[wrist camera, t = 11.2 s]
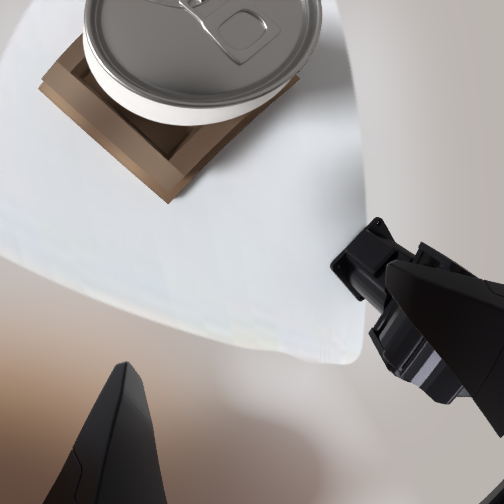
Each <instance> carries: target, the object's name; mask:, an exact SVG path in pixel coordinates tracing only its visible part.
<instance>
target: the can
mask: <svg viewBox="0 0 504 504" xmlns="http://www.w3.org/2000/svg"><path fill="white" fill-rule="evenodd" d="M321 24H322V6H321V0H86V5H85V12H84V26H83V46H84V52H85V56H86V60H87V63H88V65H89V68H90V70H91V72H92V74H93V75H94V77H95V79H96V80H97V82H98V83H99V85H100V86H101V87H102V88H103V90H104V91H105V92H106V93H107V94H108V95H109V96H110V97H111V98H112V99H114V100H115V101H116V102H117V103H119V104H120V105H121V106H123V107H124V108H126V109H128V110H129V111H131V112H133V113H135V114H137V115H139V116H141V117H144V118H146V119H149V120H152V121H156V122H159V123H164V124H171V125H183V126H192V125H205V124H212V123H218V122H222V121H226V120H229V119H233V118H235V117H238V116H241V115H243V114H245V113H248V112H250V111H252V110H254V109H256V108H257V107H259V106H261V105H262V104H264V103H265V102H267V101H268V100H270V99H271V98H272V97H274V96H275V95H276V94H277V93H278V92H279V91H280V90H281V89H282V88H283V87H284V86H285V85H286V84H287V83H288V82H289V80H290V79H291V78H292V77H293V76H294V75H295V74H296V73H297V72H298V71H299V70H300V69H301V68H302V67H303V66H304V64H305V63H306V62H307V60H308V59H309V57H310V56H311V54H312V52H313V50H314V48H315V46H316V43H317V41H318V38H319V34H320V30H321Z"/></svg>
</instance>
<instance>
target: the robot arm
mask: <svg viewBox="0 0 504 504" xmlns="http://www.w3.org/2000/svg"><path fill="white" fill-rule="evenodd" d="M378 221H379V222H378ZM377 223H378V224H377ZM336 265H337V266H336ZM335 266H336V267H335ZM330 268H331V270H332V271H333V272H334V273H335V274H336V276H337V277H338V278H339V279H340V280H341V281H342V282H343V284H344V285H345V286H346V287H347V288H348V289H349V291H350V292H351V293H352V294H353V295H354V296H355V298H356V299H357V300H358V301H363V300H364V299H366V300H367V301H368V302H369V303H370V304H372V305H373V306H374V307H375V308H376V309H377V310H378V311H379V312H380V313H381V316H380V318H379V319H378V321H377V322H376V324H375V325H374V327H373V328H371V330H370V331H369V335H370V337H371V339H372V341H373V343H374V345H375V346H376V348H377V350H378V352H379V354H380V356H381V358H382V360H383V361H384V363H385V365H386V367H387V369H388V370H389V371H390V372H392V373H393V374H394V375H395V376H397V377H399V378H401V379H403V380H405V381H407V382H411V383H413V384H415V385H416V386H418V387H419V388H421V389H422V390H423V391H424V392H425V393H426V394H427V395H428V396H429V397H431V398H432V399H433V400H434V401H435V402H438V403H442V404H450V403H451V402H452V401H453V400H454V399H455V398H456V397H472V398H473V400H474V402H475V403H476V404H477V406H478V407H479V409H480V410H481V411H482V413H483V414H484V416H485V417H486V418H487V420H488V421H489V423H490V424H491V426H492V427H493V428H494V430H495V432H496V433H497V434H498V436H499V437H500V438H501V437H502V436H503V435H504V284H500V283H495V282H491V281H487V280H482V279H479V278H478V277H476V276H475V275H473V274H472V273H471V272H469V271H468V270H466V269H465V268H463V267H462V266H460V265H459V264H457V263H456V262H454V261H453V260H451V259H449V258H448V257H446V256H445V255H443V254H441V253H440V252H438V251H436V250H435V249H433V248H431V247H430V246H428V245H426V244H425V243H423V242H421V243H420V245H419V249H418V251H417V253H416V255H414V254H413V253H411V252H409V251H408V250H406V249H405V248H403V247H402V246H400V245H399V244H397V243H396V242H395V241H394V239H393V238H392V236H391V234H390V232H389V230H388V228H387V226H386V225H385V223H384V221H383V220H382V219H381V218H379V217H376V218H374V219H373V220H372V222H371V223H370V224H369V225H368V226H367V227H366V228H365V229H364V230H363V231H362V232H361V233H360V234H359V235H358V236H357V237H356V238H355V239H354V240H353V241H352V242H351V243H350V245H349V246H348V247H347V248H346V249H345V250H344V251H343V252H342V253H341V254H340V255H339V256H338V257H337V258H336V259H335V260H334V261H333V262H332V263H331V265H330ZM43 504H167V500H166V496H165V491H164V487H163V482H162V477H161V472H160V467H159V461H158V456H157V450H156V443H155V437H154V430H153V424H152V420H151V416H150V412H149V408H148V404H147V400H146V396H145V391H144V386H143V382H142V380H141V378H140V376H139V375H138V373H137V372H136V371H135V369H134V368H133V366H132V365H131V364H130V363H129V362H127V361H126V362H122V363H119V364H117V365H116V366H115V367H114V369H113V371H112V373H111V375H110V376H109V378H108V380H107V382H106V384H105V386H104V387H103V389H102V391H101V393H100V395H99V397H98V399H97V400H96V402H95V404H94V406H93V408H92V410H91V412H90V414H89V416H88V418H87V420H86V421H85V424H84V425H83V427H82V429H81V431H80V433H79V436H78V438H77V439H76V441H75V444H74V446H73V450H71V452H70V454H69V456H68V458H67V460H66V462H65V464H64V466H63V468H62V470H61V472H60V474H59V476H58V477H57V479H56V481H55V483H54V485H53V486H52V488H51V490H50V491H49V493H48V495H47V497H46V498H45V500H44V502H43ZM479 504H504V480H503V481H502V482H501V483H500V484H499V485H498V486H497V487H496V488H495V489H494V490H493V491H492V492H491V493H490V494H489V495H488V496H487V497H486V498H485V499H484V500H483V501H482V502H480V503H479Z"/></svg>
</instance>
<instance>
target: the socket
mask: <svg viewBox="0 0 504 504" xmlns="http://www.w3.org/2000/svg"><path fill="white" fill-rule="evenodd" d="M298 72H299V71H298ZM298 72H297V73H298ZM42 80H43V81H44V82H43V83H42V84H41V85H40V87H39V88H38V89H39V90H40V91H41V92H42V93H43V94H44V95H45V96H46V97H48V98H49V99H50V100H51V101H52V102H53V103H54V104H55V105H56V106H57V107H59V108H60V109H61V110H62V111H63V112H64V113H65V114H66V115H67V116H68V117H70V118H71V119H72V120H73V121H74V122H75V123H76V124H77V125H78V126H80V127H81V128H82V129H83V130H84V131H85V132H86V133H87V134H88V135H90V136H91V137H92V138H93V139H94V140H95V141H96V142H97V143H99V144H100V145H101V146H102V147H103V148H104V149H105V150H107V151H108V152H109V153H110V154H111V155H112V156H113V157H114V158H116V159H117V160H118V161H119V162H120V163H121V164H122V165H124V166H125V167H126V168H127V169H128V170H129V171H130V172H132V173H133V174H134V175H135V176H136V177H137V178H138V179H140V180H141V181H142V182H143V183H144V184H145V185H146V186H148V187H149V188H150V189H151V190H152V191H153V192H155V193H156V194H157V195H158V196H159V197H160V198H161V199H163V200H164V201H165V202H166V203H167V204H169V203H170V202H171V201H172V200H173V199H174V198H175V196H176V195H177V194H178V193H179V192H180V191H181V190H182V189H183V188H184V187H185V186H186V185H187V184H188V183H189V182H190V181H191V179H192V178H193V177H194V176H195V175H196V174H197V173H198V172H199V171H200V170H201V169H202V168H203V167H204V166H205V165H206V164H207V163H208V162H209V161H210V160H211V159H212V158H213V157H214V156H215V155H216V154H217V153H218V152H219V151H220V150H221V149H222V148H223V147H224V146H225V145H226V144H227V143H229V142H230V141H231V140H232V139H233V138H234V137H235V136H236V135H237V134H238V133H239V132H240V131H241V130H242V129H243V128H244V127H246V126H247V125H248V124H249V123H250V122H251V121H252V120H253V119H254V118H255V117H256V116H258V115H259V114H260V113H261V112H262V111H263V110H264V109H265V108H267V107H268V106H269V105H270V104H271V103H272V102H273V101H275V100H276V99H277V98H278V97H279V96H280V95H282V94H283V93H284V92H285V91H286V90H287V89H289V88H290V87H291V86H292V85H293V84H295V83H296V82H297V81H298V80H299V78H298V76H297V75H296V74H295V75H294V76H293V77H292V78H291V79H290V80H289V82H288V83H287V84H286V85H285V86H284V87H283V88H282V89H281V90H280V91H279V92H278V93H277V94H276V95H275V96H274V97H272V98H271V99H270V100H268V101H267V102H265V103H264V104H262V105H261V106H259V107H257V108H256V109H254V110H252V111H250V112H248V113H245V114H243V115H241V116H238V117H235V118H233V119H229V120H226V121H222V122H218V123H212V124H205V125H192V126H183V125H171V124H164V123H159V122H156V121H152V120H149V119H146V118H144V117H141V116H139V115H137V114H135V113H133V112H131V111H129V110H128V109H126V108H124V107H123V106H121V105H120V104H119V103H117V102H116V101H115V100H114V99H112V98H111V97H110V96H109V95H108V94H107V93H106V92H105V91H104V90H103V88H102V87H101V86H100V85H99V83H98V82H97V80H96V79H95V77H94V75H93V74H92V72H91V70H90V68H89V65H88V63H87V60H86V56H85V52H84V46H83V33H82V34H81V35H80V36H79V37H78V38H77V39H76V40H75V41H74V42H73V43H72V44H71V45H70V47H69V48H68V49H67V50H66V51H65V52H64V53H63V54H62V55H61V56H60V57H59V59H58V60H57V61H56V62H55V63H54V64H53V66H52V67H51V68H50V69H49V70H48V71H47V73H46V74H45V75H44V76H43V78H42Z"/></svg>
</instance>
